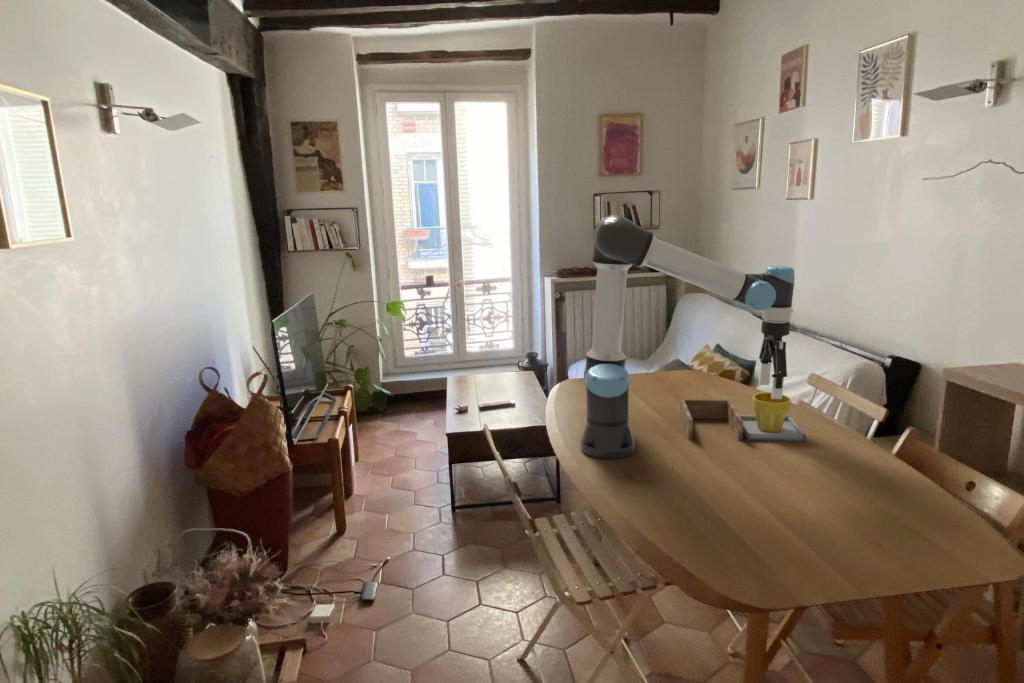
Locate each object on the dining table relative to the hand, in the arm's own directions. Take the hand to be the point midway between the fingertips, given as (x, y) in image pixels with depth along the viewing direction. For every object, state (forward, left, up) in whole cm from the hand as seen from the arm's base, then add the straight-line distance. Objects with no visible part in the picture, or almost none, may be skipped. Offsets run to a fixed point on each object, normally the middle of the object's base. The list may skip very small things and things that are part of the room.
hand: (770, 391), depth 182 cm
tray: (0, 0, -12) cm, 12 cm away
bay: (+2, +17, -12) cm, 21 cm away
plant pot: (0, 0, -12) cm, 12 cm away
